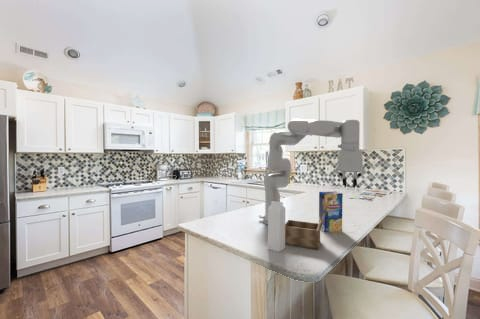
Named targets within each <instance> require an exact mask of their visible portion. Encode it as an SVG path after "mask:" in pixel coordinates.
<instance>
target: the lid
mask: <svg viewBox="0 0 480 319" xmlns="http://www.w3.org/2000/svg"><path fill="white" fill-rule="evenodd" d="M329 200H332V197H331V194H330V193H329V197H328V200H327V203H326V207H325V210H324V213H323V216H322V220H321V223H320V226H319V231H320V232H321V231H322V230H321V226H322V223H323V220H324V217H325V214H326V211H327V207H328V204H329Z"/></svg>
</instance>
